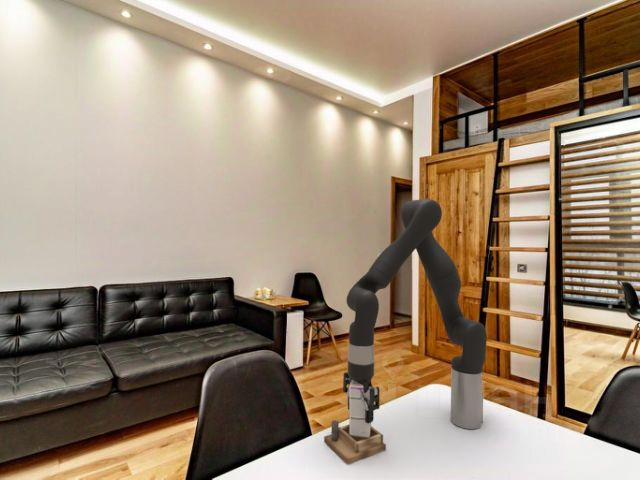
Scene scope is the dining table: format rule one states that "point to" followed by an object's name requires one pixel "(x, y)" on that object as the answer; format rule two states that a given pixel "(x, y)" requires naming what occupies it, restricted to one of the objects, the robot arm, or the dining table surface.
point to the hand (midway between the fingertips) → (359, 415)
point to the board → (353, 443)
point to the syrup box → (358, 411)
